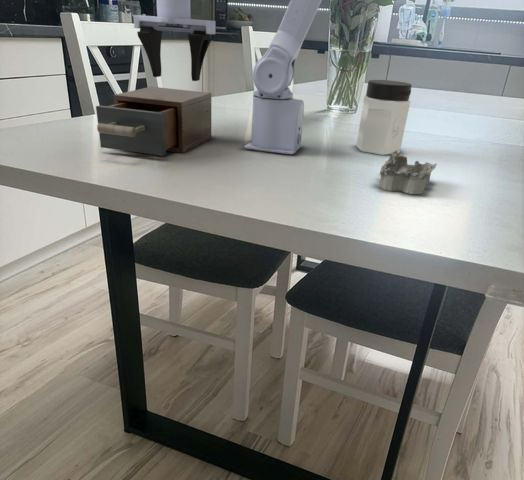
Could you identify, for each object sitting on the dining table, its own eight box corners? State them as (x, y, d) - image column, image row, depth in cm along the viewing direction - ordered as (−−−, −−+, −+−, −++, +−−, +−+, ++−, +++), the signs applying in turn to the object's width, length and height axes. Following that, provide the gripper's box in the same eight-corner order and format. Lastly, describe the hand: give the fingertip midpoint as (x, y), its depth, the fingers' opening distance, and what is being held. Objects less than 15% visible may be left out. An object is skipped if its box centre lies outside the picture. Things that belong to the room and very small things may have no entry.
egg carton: (389, 174, 82) (394, 148, 80) (434, 182, 79) (440, 156, 77) (372, 188, 74) (377, 160, 72) (421, 198, 71) (428, 169, 69)
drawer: (150, 162, 75) (147, 118, 72) (85, 153, 78) (79, 110, 74) (193, 140, 90) (193, 103, 86) (138, 133, 92) (135, 96, 89)
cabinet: (183, 153, 85) (181, 102, 81) (118, 144, 87) (113, 94, 83) (211, 138, 97) (211, 92, 92) (154, 130, 99) (151, 86, 95)
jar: (375, 156, 92) (389, 85, 85) (347, 147, 98) (357, 79, 91) (407, 152, 96) (422, 85, 90) (379, 144, 102) (391, 79, 95)
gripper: (121, -19, 79) (129, 76, 87) (205, -13, 76) (205, 84, 84) (141, -16, 84) (147, 73, 92) (219, -11, 82) (219, 80, 90)
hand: (176, 78), depth 88 cm, fingers open, 7 cm apart
